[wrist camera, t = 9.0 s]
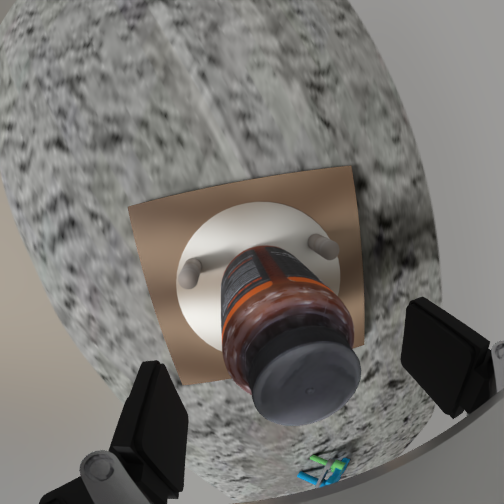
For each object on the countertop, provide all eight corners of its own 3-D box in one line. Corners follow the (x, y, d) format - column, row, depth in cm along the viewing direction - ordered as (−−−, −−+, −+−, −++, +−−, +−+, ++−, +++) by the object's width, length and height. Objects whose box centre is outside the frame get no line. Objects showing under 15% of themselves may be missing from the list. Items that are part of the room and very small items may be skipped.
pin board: (134, 205, 19) (110, 209, 14) (342, 166, 20) (371, 162, 15) (184, 374, 22) (179, 408, 18) (357, 336, 23) (379, 362, 19)
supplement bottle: (211, 312, 19) (203, 434, 8) (233, 233, 18) (247, 294, 7) (288, 329, 20) (342, 441, 9) (315, 255, 19) (411, 327, 8)
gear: (339, 487, 28) (308, 527, 20) (307, 474, 32) (271, 510, 24) (363, 442, 27) (334, 487, 19) (326, 428, 31) (288, 468, 23)
